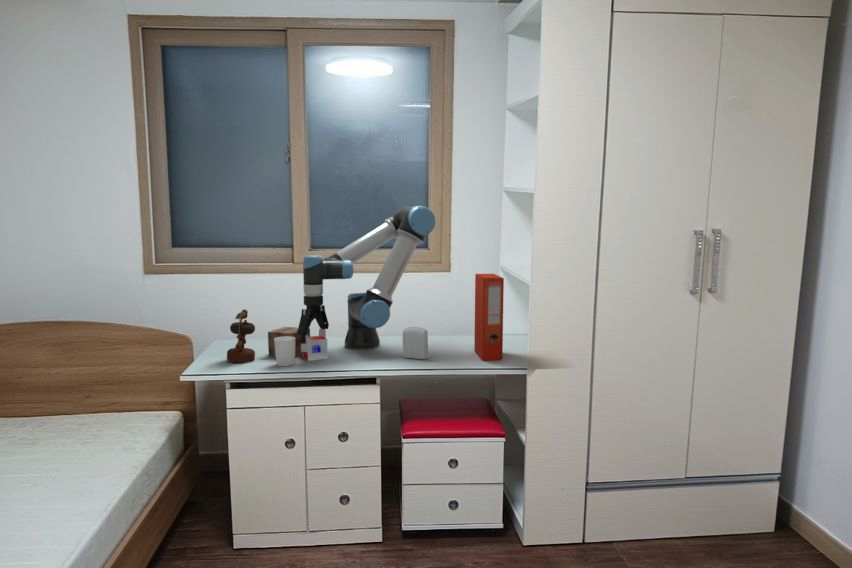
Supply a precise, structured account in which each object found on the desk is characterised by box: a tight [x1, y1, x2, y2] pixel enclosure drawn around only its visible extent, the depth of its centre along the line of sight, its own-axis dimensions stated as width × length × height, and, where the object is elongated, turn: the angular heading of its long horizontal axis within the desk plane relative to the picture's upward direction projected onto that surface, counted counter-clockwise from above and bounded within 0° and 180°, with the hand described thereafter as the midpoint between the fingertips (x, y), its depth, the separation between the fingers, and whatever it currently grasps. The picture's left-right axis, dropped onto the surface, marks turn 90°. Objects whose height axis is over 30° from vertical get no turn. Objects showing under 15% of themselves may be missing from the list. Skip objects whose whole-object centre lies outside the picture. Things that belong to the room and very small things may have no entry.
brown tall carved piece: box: [226, 308, 256, 363], centre depth 249 cm, size 15×11×20 cm
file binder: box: [473, 273, 505, 362], centre depth 252 cm, size 8×17×32 cm, turn 6°
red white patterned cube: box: [302, 335, 329, 361], centre depth 253 cm, size 8×8×8 cm
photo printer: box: [402, 326, 429, 360], centre depth 250 cm, size 10×4×12 cm, turn 65°
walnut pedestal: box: [267, 326, 311, 359], centre depth 258 cm, size 12×12×10 cm
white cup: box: [274, 336, 296, 367], centre depth 242 cm, size 8×8×10 cm
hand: (313, 348), depth 253 cm, fingers open, 13 cm apart
